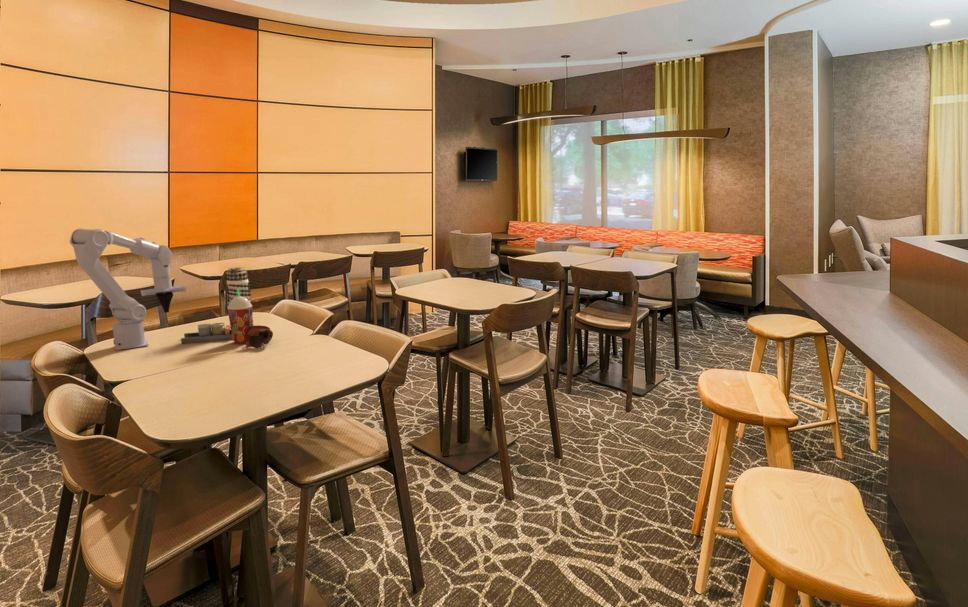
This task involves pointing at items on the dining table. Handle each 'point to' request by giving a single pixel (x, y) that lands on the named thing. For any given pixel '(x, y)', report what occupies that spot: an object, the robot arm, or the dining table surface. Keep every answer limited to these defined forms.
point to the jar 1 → (205, 330)
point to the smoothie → (240, 318)
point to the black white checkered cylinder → (237, 284)
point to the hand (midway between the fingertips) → (166, 312)
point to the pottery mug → (258, 336)
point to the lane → (204, 338)
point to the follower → (227, 329)
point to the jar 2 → (218, 329)
